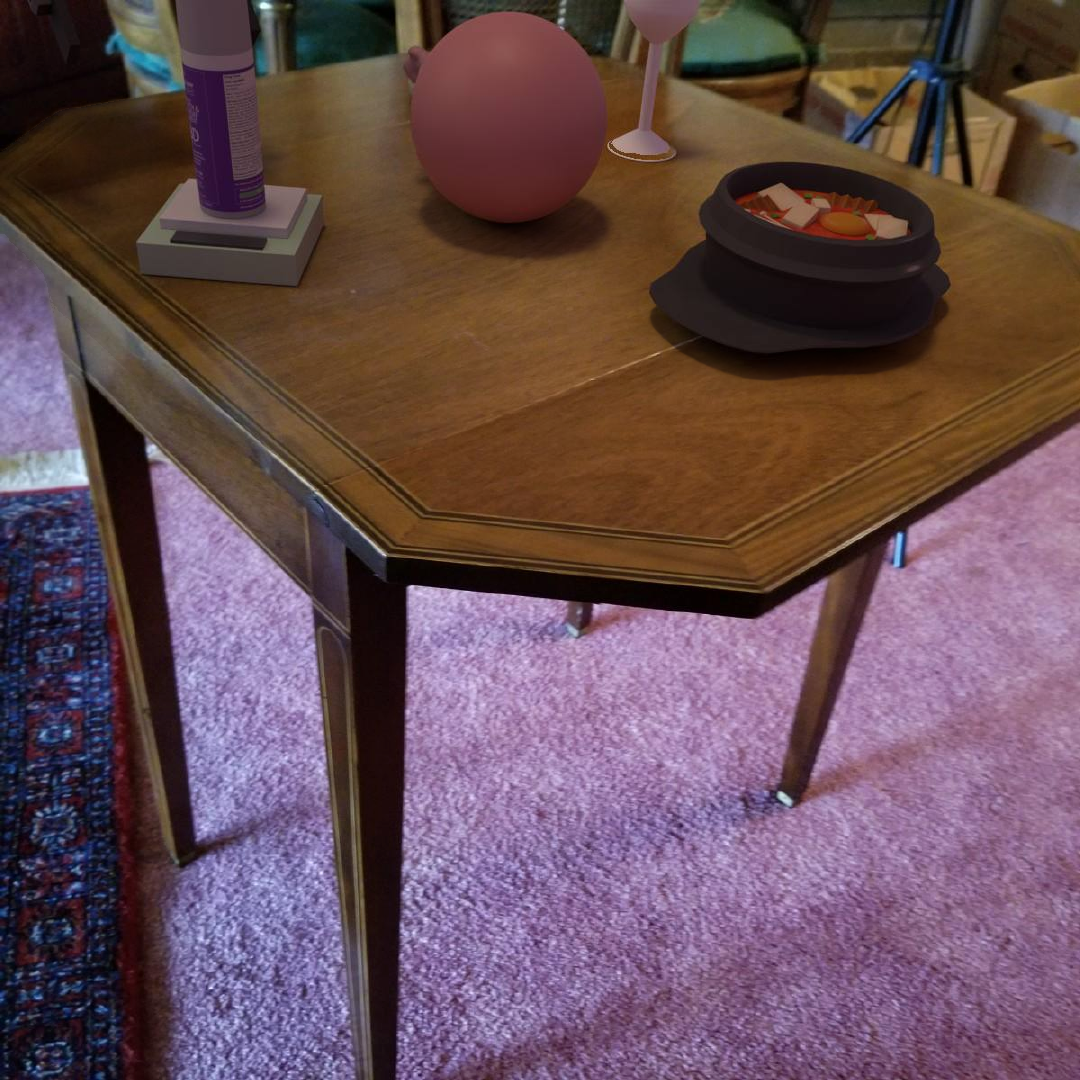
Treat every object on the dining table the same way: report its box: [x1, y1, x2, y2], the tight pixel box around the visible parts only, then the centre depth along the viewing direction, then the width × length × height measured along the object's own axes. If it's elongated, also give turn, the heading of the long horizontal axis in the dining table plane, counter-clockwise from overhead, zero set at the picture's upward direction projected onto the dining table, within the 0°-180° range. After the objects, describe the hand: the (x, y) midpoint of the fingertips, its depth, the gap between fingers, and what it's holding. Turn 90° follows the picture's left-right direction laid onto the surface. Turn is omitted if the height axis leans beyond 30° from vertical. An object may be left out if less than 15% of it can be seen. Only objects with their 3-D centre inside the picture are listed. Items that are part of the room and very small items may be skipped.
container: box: [175, 0, 266, 219], centre depth 75 cm, size 5×5×15 cm
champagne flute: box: [607, 0, 700, 163], centre depth 97 cm, size 7×7×24 cm
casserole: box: [648, 161, 952, 355], centre depth 78 cm, size 25×19×8 cm
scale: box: [135, 178, 325, 287], centre depth 80 cm, size 11×11×3 cm
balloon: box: [402, 11, 608, 224], centre depth 86 cm, size 15×20×15 cm
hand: (166, 47), depth 81 cm, fingers open, 13 cm apart
